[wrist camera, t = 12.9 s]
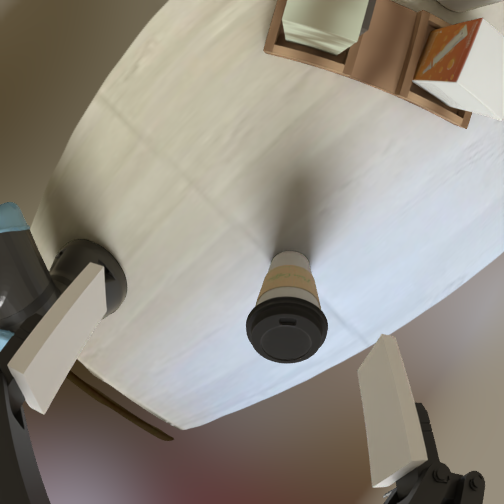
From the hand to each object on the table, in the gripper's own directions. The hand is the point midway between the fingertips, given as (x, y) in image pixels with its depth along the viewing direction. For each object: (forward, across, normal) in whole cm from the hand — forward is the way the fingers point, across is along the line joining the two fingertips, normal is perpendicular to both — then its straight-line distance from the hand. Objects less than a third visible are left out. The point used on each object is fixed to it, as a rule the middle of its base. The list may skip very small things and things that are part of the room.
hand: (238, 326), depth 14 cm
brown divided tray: (+29, +9, +20) cm, 36 cm away
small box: (+28, +17, +19) cm, 38 cm away
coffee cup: (+30, +7, -14) cm, 34 cm away
